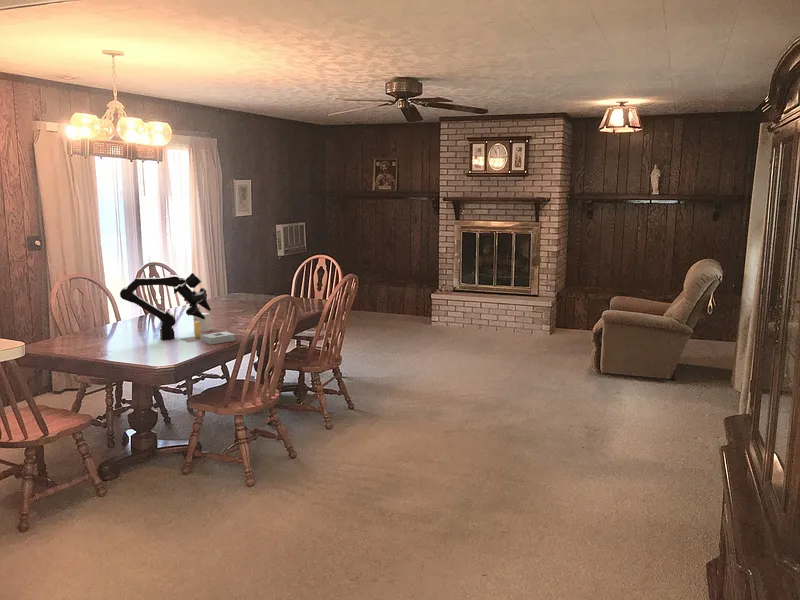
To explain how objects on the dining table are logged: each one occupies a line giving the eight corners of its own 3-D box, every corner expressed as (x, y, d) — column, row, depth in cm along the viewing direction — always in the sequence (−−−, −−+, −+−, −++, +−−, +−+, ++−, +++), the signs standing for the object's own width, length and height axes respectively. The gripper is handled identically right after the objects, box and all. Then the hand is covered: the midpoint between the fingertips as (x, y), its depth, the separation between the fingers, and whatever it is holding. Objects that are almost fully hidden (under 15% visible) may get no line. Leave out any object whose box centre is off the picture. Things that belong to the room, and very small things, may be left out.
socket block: (210, 345, 347) (210, 338, 346) (202, 342, 354) (201, 334, 354) (235, 341, 356) (234, 334, 355) (226, 338, 363) (226, 331, 363)
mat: (188, 343, 352) (188, 342, 351) (179, 339, 360) (179, 338, 360) (212, 339, 360) (212, 338, 360) (203, 336, 369) (203, 334, 369)
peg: (196, 339, 359) (195, 322, 357) (193, 338, 361) (193, 322, 360) (201, 338, 361) (200, 322, 359) (199, 337, 363) (198, 321, 362)
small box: (211, 330, 383) (210, 312, 382) (206, 332, 378) (205, 314, 376) (199, 330, 385) (198, 312, 384) (193, 332, 380) (193, 313, 378)
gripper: (191, 294, 349) (211, 315, 354) (203, 278, 365) (223, 299, 371) (177, 305, 353) (197, 325, 358) (189, 288, 369) (209, 309, 375)
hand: (207, 314), depth 365 cm, fingers open, 9 cm apart
